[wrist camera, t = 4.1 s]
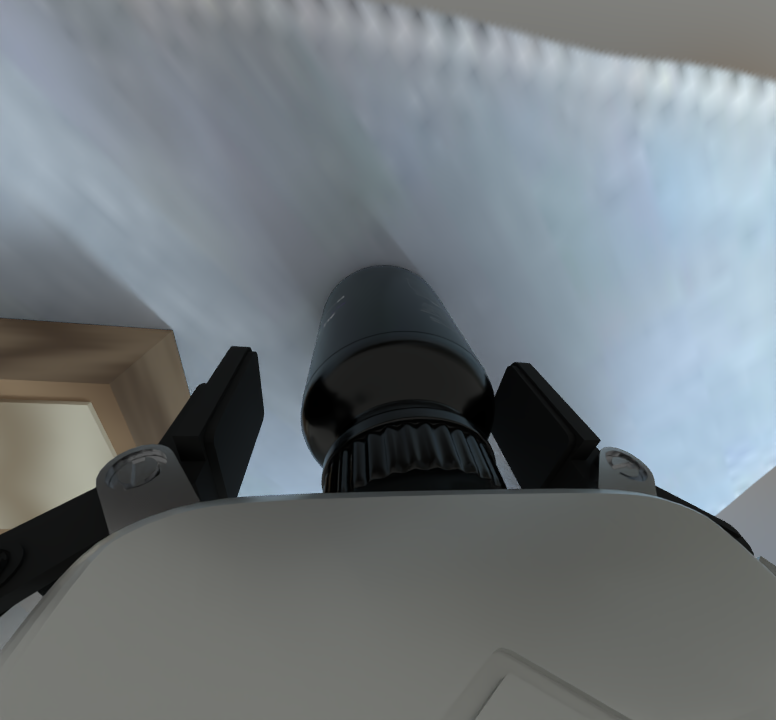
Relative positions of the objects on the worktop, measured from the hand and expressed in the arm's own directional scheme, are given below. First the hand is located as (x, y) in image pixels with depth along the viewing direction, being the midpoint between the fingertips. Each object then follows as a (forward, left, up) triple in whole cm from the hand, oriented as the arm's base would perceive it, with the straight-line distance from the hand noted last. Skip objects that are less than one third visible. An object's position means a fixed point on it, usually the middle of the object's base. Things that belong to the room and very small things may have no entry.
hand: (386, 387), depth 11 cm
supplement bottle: (0, 0, -7) cm, 7 cm away
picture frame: (+17, +7, -7) cm, 19 cm away
